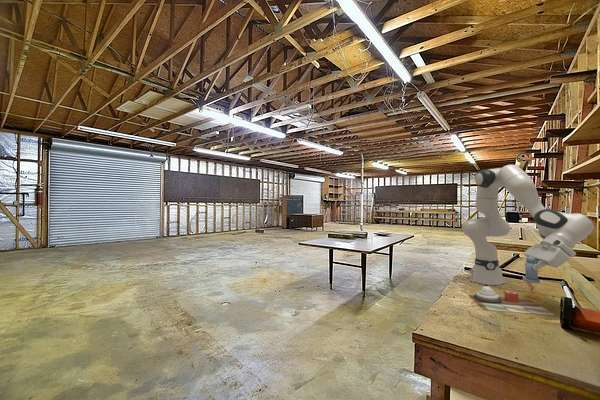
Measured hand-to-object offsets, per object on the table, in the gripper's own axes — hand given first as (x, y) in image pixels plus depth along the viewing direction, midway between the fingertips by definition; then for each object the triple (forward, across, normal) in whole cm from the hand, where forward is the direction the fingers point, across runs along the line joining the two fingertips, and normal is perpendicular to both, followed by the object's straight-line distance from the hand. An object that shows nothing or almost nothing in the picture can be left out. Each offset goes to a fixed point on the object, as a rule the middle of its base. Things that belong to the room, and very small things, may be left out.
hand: (529, 267), depth 117 cm
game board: (+19, -6, +9) cm, 22 cm away
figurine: (+8, -19, +21) cm, 29 cm away
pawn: (+4, 0, +5) cm, 6 cm away
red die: (+15, -11, +11) cm, 21 cm away
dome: (+21, -11, +3) cm, 24 cm away
